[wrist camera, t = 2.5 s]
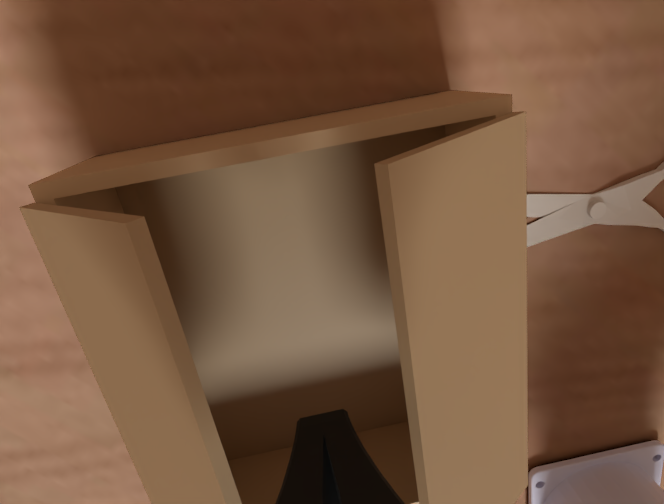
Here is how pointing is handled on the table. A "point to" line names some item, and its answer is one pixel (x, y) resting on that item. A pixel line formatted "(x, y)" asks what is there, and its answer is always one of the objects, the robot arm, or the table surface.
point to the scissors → (594, 208)
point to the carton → (282, 270)
